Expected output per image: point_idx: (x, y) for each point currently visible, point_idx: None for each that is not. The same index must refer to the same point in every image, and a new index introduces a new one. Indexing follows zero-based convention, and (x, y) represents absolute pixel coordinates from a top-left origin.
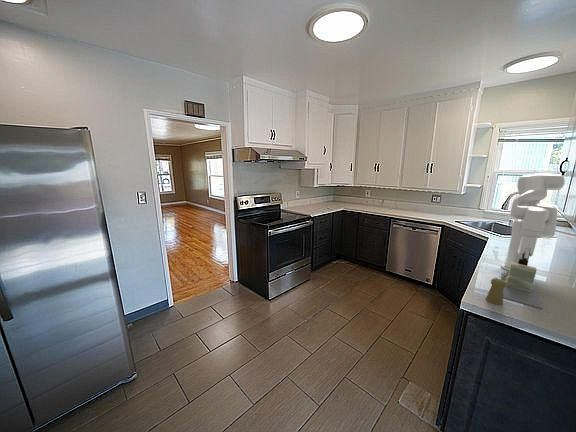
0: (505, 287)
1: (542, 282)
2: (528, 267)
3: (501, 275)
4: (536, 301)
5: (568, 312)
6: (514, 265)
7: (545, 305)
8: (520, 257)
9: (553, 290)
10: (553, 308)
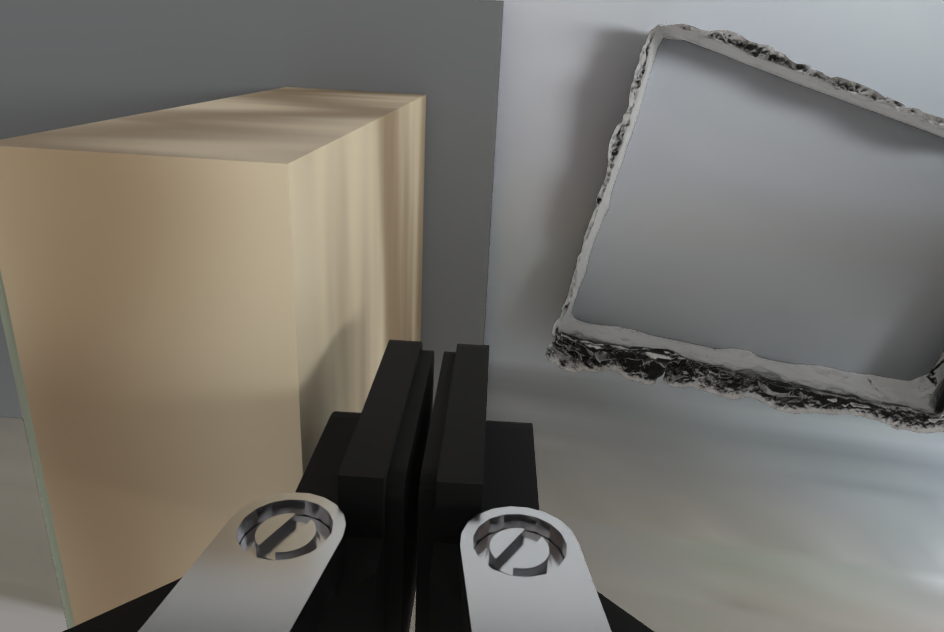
0: (184, 69)
1: (883, 558)
2: (151, 556)
3: (686, 30)
4: (8, 384)
5: (38, 592)
6: (1, 232)
7: (21, 448)
8: (460, 545)
9: (633, 606)
10: (10, 500)
